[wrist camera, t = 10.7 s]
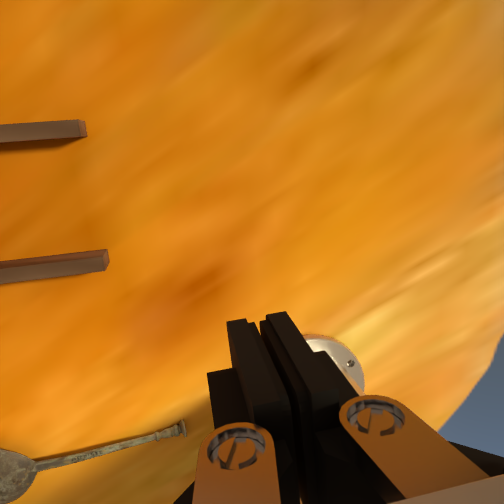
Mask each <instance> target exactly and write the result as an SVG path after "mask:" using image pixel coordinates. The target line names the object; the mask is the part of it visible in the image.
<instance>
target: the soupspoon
mask: <svg viewBox="0 0 504 504" xmlns="http://www.w3.org/2000/svg"><path fill="white" fill-rule="evenodd" d="M180 433H182V434H183V435H184V436H185V437H187V435H186V428H185V423H184V420H183V419H181V422H180V425H179V426H178V425H177V424H175V425H174V426H173V427H172V428H171V427H170V428H167V429H164V430H163V431H162V432H157V431H156V432H155V433H154V434H151V435H147V436H143V437H139V438H135V439H131V440H127V441H123V442H119V443H115V444H111V445H107V446H103V447H100V448H96V449H92V450H89V451H85V452H81V453H77V454H72V455H67V456H62V457H57V458H53V459H47V460H42V461H34V460H32V459H30V458H28V457H27V456H25V455H22V454H19V453H16V452H12V451H7V450H3V449H0V504H7V503H10V502H12V501H14V500H16V499H18V498H19V497H20V496H22V495H23V494H24V493H25V492H26V491H27V490H28V488H29V487H30V486H31V484H32V483H33V481H34V479H35V476H36V474H37V472H40V471H43V470H46V469H51V468H57V467H60V466H64V465H68V464H73V463H76V462H80V461H84V460H87V459H91V458H94V457H97V456H102V455H105V454H108V453H111V452H115V451H118V450H122V449H125V448H129V447H132V446H136V445H140V444H143V443H146V442H150V441H153V440H156V441H159V440H160V439H161V438H169V437H173V436H179V434H180Z"/></svg>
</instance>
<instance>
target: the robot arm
mask: <svg viewBox="0 0 504 504" xmlns="http://www.w3.org/2000/svg"><path fill="white" fill-rule="evenodd" d="M227 332H228V339H229V347H230V354H231V361H232V368H229V369H224V370H219V371H214V372H209V373H207V378H208V385H209V392H210V399H211V406H212V413H213V420H214V427H215V430H214V431H213V432H212V433H210V434H209V435H208V436H207V437H206V438H205V439H204V441H203V442H202V444H201V447H200V450H199V454H198V462H197V470H196V477H195V481H194V482H193V483H192V484H191V485H190V486H189V487H188V488H187V489H186V490H185V491H184V493H183V494H182V495H181V496H180V497H179V498H178V499H177V500H176V501H175V502H174V503H173V504H504V457H500V456H497V455H494V454H490V453H487V452H483V451H480V450H477V449H473V448H470V447H466V446H463V445H460V444H456V443H453V442H450V441H447V440H445V439H444V438H443V437H442V436H441V435H439V434H438V433H437V432H436V431H435V430H434V429H432V428H431V427H430V426H429V425H428V424H426V423H425V422H424V421H423V420H422V419H420V418H419V417H418V416H417V415H416V414H414V413H413V412H412V411H411V410H410V409H408V408H407V407H406V406H405V405H403V404H402V403H400V402H398V401H397V400H394V399H391V398H389V397H385V396H379V395H365V393H364V387H365V382H364V373H363V370H362V367H361V365H360V363H359V361H358V360H357V358H356V356H355V355H354V354H353V353H352V352H351V351H350V349H348V348H347V347H346V346H345V345H344V344H342V343H341V342H339V341H337V340H335V339H333V338H330V337H326V336H323V335H302V334H301V333H300V331H299V330H298V329H297V327H296V326H295V324H294V323H293V321H292V320H291V318H290V317H289V315H288V314H287V312H286V311H284V312H278V313H273V314H267V315H266V320H263V321H260V333H261V335H260V333H259V331H258V329H257V327H256V325H255V323H254V322H251V323H248V322H247V320H246V318H245V319H239V320H233V321H228V322H227Z"/></svg>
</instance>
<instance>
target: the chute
mask: <svg viewBox="0 0 504 504" xmlns="http://www.w3.org/2000/svg"><path fill="white" fill-rule="evenodd" d="M75 137H87V132H86V126H85V121H83V120H63V121H48V122H33V123H19V124H4V125H0V143H7V142H21V141H34V140H48V139H61V138H75ZM108 264H109V257H108V251H107V249H103V250H95V251H86V252H77V253H69V254H60V255H52V256H43V257H35V258H26V259H17V260H9V261H0V284H3V283H11V282H19V281H27V280H35V279H44V278H52V277H60V276H68V275H76V274H84V273H92V272H100V271H105V270H106V268H107V266H108Z"/></svg>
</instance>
